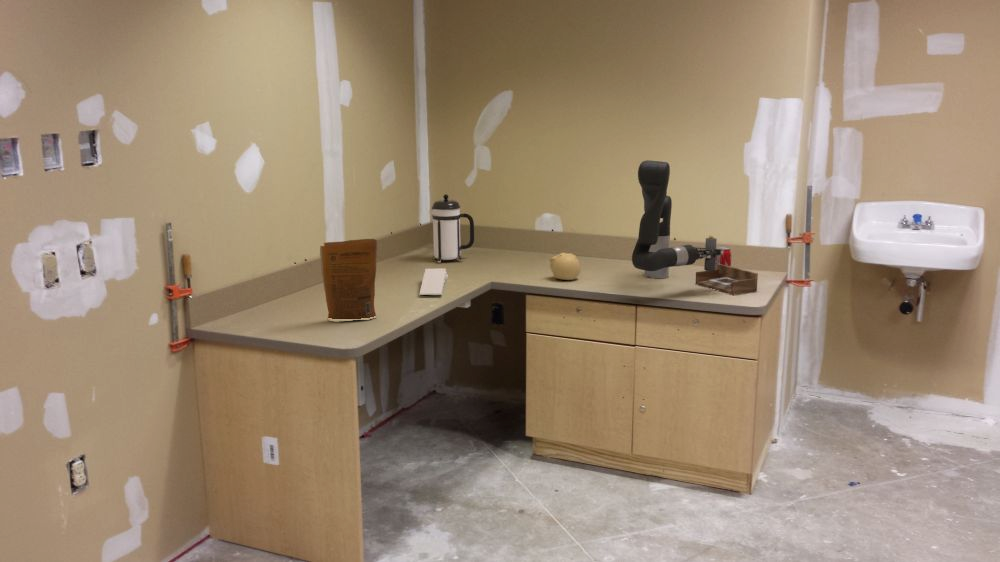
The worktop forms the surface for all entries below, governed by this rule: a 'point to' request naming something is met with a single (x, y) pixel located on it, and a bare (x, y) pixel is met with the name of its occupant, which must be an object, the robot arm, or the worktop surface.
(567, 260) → the tan round lump
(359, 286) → the pancake mix bag
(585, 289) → the worktop surface
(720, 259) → the soda can
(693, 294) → the worktop surface
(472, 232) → the coffee press
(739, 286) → the bay
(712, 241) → the tall grey cylinder
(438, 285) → the white boxy piece
